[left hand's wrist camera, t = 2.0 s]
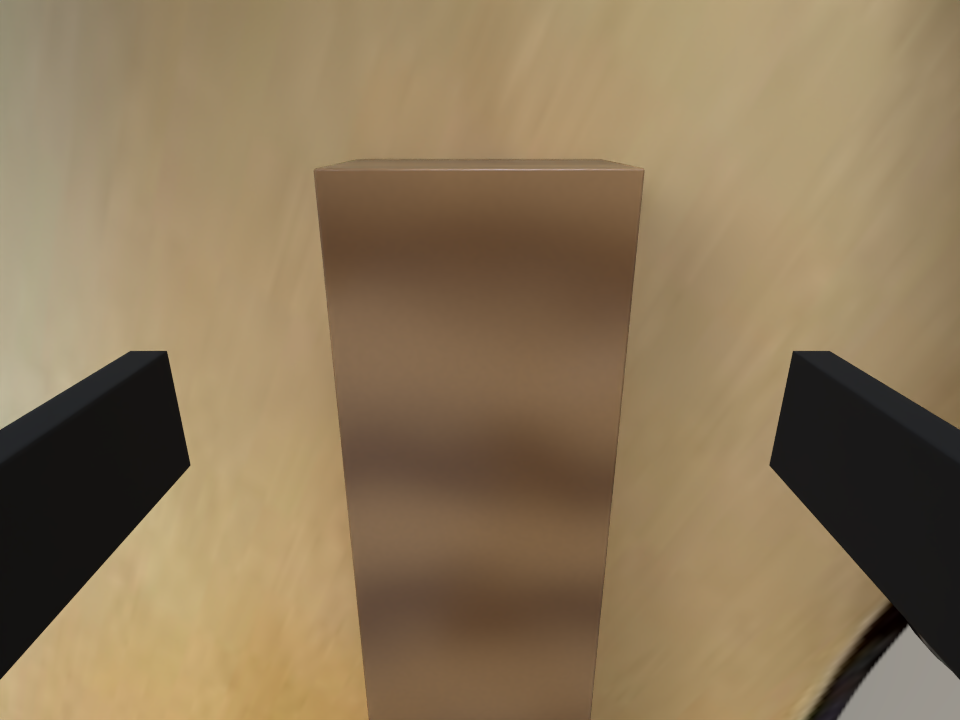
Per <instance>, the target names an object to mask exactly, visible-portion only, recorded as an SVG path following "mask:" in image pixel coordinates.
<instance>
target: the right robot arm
mask: <svg viewBox="0 0 960 720" xmlns="http://www.w3.org/2000/svg"><path fill="white" fill-rule="evenodd" d="M907 622H908V621H907ZM908 624H909V626H910V627H911V628H912V630H913V631H914V633H915V634H916V635H917V636H918V637H919V638H920V640H921V641H922V642H923V643H924V644H925V645H926V646H927V647H928V649H929V650H930V651H931V652H932V653H933V654H934V655H935V656H936V657H937V658H938V659H939V660H940V661H942V662H943V663H944V664H945V662H944V661H943V660H942V659H941V658H940V657H939V656H938V655H937V653H936V652H935V651H934V650H933V649H932V648H931V647H930V646H929V644H928V643H927V642H926V641H925V640H924V639H923V638H922V637H921V635H920V634H919V633H918V632H917V631H916V630H915V629H914V628H913V626H912V625H911V624H910V623H909V622H908ZM945 665H946V664H945ZM946 666H947V665H946ZM947 667H948V666H947ZM948 668H949V667H948ZM949 669H950V668H949ZM950 670H951V669H950ZM951 671H952V670H951Z"/></svg>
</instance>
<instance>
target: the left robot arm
mask: <svg viewBox="0 0 960 720" xmlns="http://www.w3.org/2000/svg"><path fill="white" fill-rule="evenodd" d="M189 466H190V460H189V455H188V451H187V446H186V441H185V436H184V431H183V426H182V422H181V417H180V412H179V407H178V402H177V397H176V393H175V388H174V383H173V378H172V373H171V368H170V364H169V359H168V354H167V351H130V352H128V353H126V354H125V355H123V356H121V357H120V358H118V359H116V360H115V361H113V362H112V363H110V364H108V365H107V366H105V367H103V368H102V369H100V370H98V371H97V372H95V373H93V374H92V375H90V376H88V377H87V378H85V379H83V380H82V381H80V382H79V383H77V384H75V385H74V386H72V387H70V388H69V389H67V390H65V391H64V392H62V393H60V394H59V395H57V396H55V397H54V398H52V399H50V400H49V401H47V402H46V403H44V404H42V405H41V406H39V407H37V408H36V409H34V410H32V411H31V412H29V413H27V414H26V415H24V416H22V417H21V418H19V419H17V420H16V421H14V422H12V423H11V424H9V425H8V426H6V427H4V428H3V429H1V430H0V679H1V678H2V677H3V676H4V675H5V674H6V673H7V671H8V670H9V669H10V668H11V667H12V666H13V665H14V664H15V662H16V661H17V660H18V659H19V658H20V657H21V656H22V655H23V653H24V652H25V651H26V650H27V649H28V648H29V647H30V646H31V644H32V643H33V642H34V641H35V640H36V639H37V638H38V637H39V635H40V634H41V633H42V632H43V631H44V630H45V629H46V628H47V626H48V625H49V624H50V623H51V622H52V621H53V620H54V619H55V617H56V616H57V615H58V614H59V613H60V612H61V611H62V610H63V608H64V607H65V606H66V605H67V604H68V603H69V602H70V601H71V599H72V598H73V597H74V596H75V595H76V594H77V593H78V592H79V590H80V589H81V588H82V587H83V586H84V585H85V584H86V583H87V581H88V580H89V579H90V578H91V577H92V576H93V575H94V573H95V572H96V571H97V570H98V569H99V568H100V567H101V566H102V564H103V563H104V562H105V561H106V560H107V559H108V558H109V557H110V555H111V554H112V553H113V552H114V551H115V550H116V549H117V548H118V546H119V545H120V544H121V543H122V542H123V541H124V540H125V539H126V537H127V536H128V535H129V534H130V533H131V532H132V531H133V530H134V528H135V527H136V526H137V525H138V524H139V523H140V522H141V521H142V519H143V518H144V517H145V516H146V515H147V514H148V513H149V512H150V510H151V509H152V508H153V507H154V506H155V505H156V504H157V503H158V501H159V500H160V499H161V498H162V497H163V496H164V495H165V494H166V492H167V491H168V490H169V489H170V488H171V487H172V486H173V485H174V483H175V482H176V481H177V480H178V479H179V478H180V477H181V476H182V474H183V473H184V472H185V471H186V470H187V469H188V468H189ZM770 466H771V468H772V469H773V470H774V471H775V472H776V473H777V474H778V476H779V477H780V478H781V479H782V480H783V481H784V482H785V483H786V485H787V486H788V487H789V488H790V489H791V490H792V491H793V492H794V494H795V495H796V496H797V497H798V498H799V499H800V500H801V501H802V503H803V504H804V505H805V506H806V507H807V508H808V509H809V510H810V512H811V513H812V514H813V515H814V516H815V517H816V518H817V519H818V521H819V522H820V523H821V524H822V525H823V526H824V527H825V528H826V530H827V531H828V532H829V533H830V534H831V535H832V536H833V537H834V539H835V540H836V541H837V542H838V543H839V544H840V545H841V546H842V548H843V549H844V550H845V551H846V552H847V553H848V554H849V555H850V557H851V558H852V559H853V560H854V561H855V562H856V563H857V564H858V566H859V567H860V568H861V569H862V570H863V571H864V572H865V573H866V575H867V576H868V577H869V578H870V579H871V580H872V581H873V583H874V584H875V585H876V586H877V587H878V588H879V589H880V590H881V592H882V593H883V594H884V595H885V596H886V597H887V598H888V599H889V601H890V602H891V603H892V604H893V605H894V606H895V607H896V608H897V610H898V611H899V612H900V613H901V614H902V615H903V616H904V617H905V619H906V620H907V621H908V622H909V623H910V624H911V625H912V626H913V628H914V629H915V630H916V631H917V632H918V633H919V634H920V635H921V637H922V638H923V639H924V640H925V641H926V642H927V643H928V644H929V646H930V647H931V648H932V649H933V650H934V651H935V652H936V653H937V655H938V656H939V657H940V658H941V659H942V660H943V661H944V662H945V664H946V665H947V666H948V667H949V668H950V669H951V670H952V671H953V673H954V674H955V675H956V676H957V677H958V678H959V679H960V430H959V429H957V428H956V427H954V426H952V425H951V424H949V423H948V422H946V421H944V420H943V419H941V418H939V417H938V416H936V415H934V414H933V413H931V412H929V411H928V410H926V409H924V408H923V407H921V406H919V405H918V404H916V403H914V402H913V401H911V400H910V399H908V398H906V397H905V396H903V395H901V394H900V393H898V392H896V391H895V390H893V389H891V388H890V387H888V386H886V385H885V384H883V383H881V382H880V381H878V380H877V379H875V378H873V377H872V376H870V375H868V374H867V373H865V372H863V371H862V370H860V369H858V368H857V367H855V366H853V365H852V364H850V363H848V362H847V361H845V360H844V359H842V358H840V357H839V356H837V355H835V354H834V353H832V352H830V351H793V354H792V359H791V364H790V368H789V373H788V378H787V383H786V388H785V393H784V397H783V402H782V407H781V412H780V417H779V422H778V426H777V431H776V436H775V441H774V446H773V451H772V455H771V460H770Z"/></svg>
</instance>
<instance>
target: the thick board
mask: <svg viewBox="0 0 960 720" xmlns="http://www.w3.org/2000/svg"><path fill="white" fill-rule="evenodd" d="M314 178H315V188H316V198H317V208H318V218H319V228H320V238H321V248H322V258H323V268H324V278H325V288H326V298H327V308H328V318H329V327H330V337H331V347H332V357H333V367H334V377H335V387H336V397H337V407H338V417H339V427H340V437H341V447H342V457H343V467H344V476H345V486H346V496H347V506H348V516H349V526H350V536H351V546H352V556H353V566H354V576H355V586H356V596H357V606H358V616H359V626H360V635H361V645H362V655H363V665H364V675H365V685H366V695H367V705H368V715H369V720H590V716H591V705H592V695H593V685H594V675H595V665H596V655H597V645H598V635H599V625H600V615H601V604H602V594H603V584H604V574H605V564H606V554H607V544H608V534H609V524H610V513H611V503H612V493H613V483H614V473H615V463H616V453H617V443H618V433H619V423H620V412H621V402H622V392H623V382H624V372H625V362H626V352H627V342H628V332H629V322H630V311H631V301H632V291H633V281H634V271H635V261H636V251H637V241H638V231H639V220H640V210H641V200H642V190H643V180H644V169H643V168H639V167H634V166H630V165H625V164H620V163H615V162H611V161H606V160H601V159H476V160H353V161H348V162H343V163H339V164H334V165H329V166H324V167H320V168H316V169H314Z"/></svg>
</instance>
